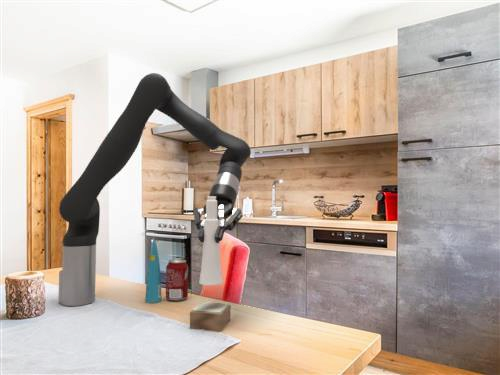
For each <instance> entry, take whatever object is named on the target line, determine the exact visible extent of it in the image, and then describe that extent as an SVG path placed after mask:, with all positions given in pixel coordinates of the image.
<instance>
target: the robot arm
mask: <svg viewBox="0 0 500 375" xmlns="http://www.w3.org/2000/svg"><path fill="white" fill-rule="evenodd" d="M155 110H157V111H159V112H160V113H162V114H164V115H166V116H167V117H169V118H170V119H172V120H173V121H175V122H176V123H177V124H179V125H180V126H181V127H182V128H183V129H185V130H186V131H187V132H188V133H189V134H190V135H192V137H194V138H195V140H197V141H199V142H200V143H202V145H204V146H205V147H206V148H208V149H209V150H211V151H215V150H217V149H218V148H219V147H223V148H225V151H224V152H223V153H222V155H221V158H220V160H219V166H218V168H219V169H218V171H217V174H216V177H215V178H214V181H213V182H212V186H211V187H210V188H211V189H210V192H209V194H208V196H216V200H217V219H218V220H219V227H218V228H217V231H216V234H215V241H216V243H219V242H220V243H221V241H222V240H223V238H224V234H225V232H226V231H229V232H230V231H233V229H234V228H235V227H236V226H237V224H238V223H239V222H240V221H241V219H242V218H243V211H242V209H241V208H239V207H238V208H235V205H236V200H237V197H238V196H239V190H240V184H241V183H240V182H241V179H242V175H243V172H242V171H243V170H242V166H243V165H244V164H245V162H246V161H247V160H248V158H249V157H250V155H251V154H252V153H251V152H252V151H251V148H250V145H249V144H248V143H247V142H246V141H245V140H244V139H242V138H239V137H237V136H235V135H232V134H231V133H229V132H226V131H224V130H223V129H221V128H220V127H218V126H217V125H216V124H215V123H214V122H212V121H211V120H210V119H208V118H207V117H206V116H204V115H202V114H200V113H199V112H197V111H196V110H194V109H193V108H191V107H190V106H188V105H187V104H186V103H184V102H183V101H182V100H181V99H180V97H178V96H177V94H176V93H175V92H174V91H173V90H172V88H171V86H170V84H169V83H168V80H167V79H166V78H165V77H164V76H163V75H162V74H160V73H155V72H152V73H151V72H150V73H148V74H146V75H144V76H143V78H141V79H140V81H139V82H138V84H137V86H136V88H135V90H134V92H133V94H132V96H131V97H130V100H129V102H128V103H127V105H126V107H125V109H124V110H123V112H121V114H120V115H119V117H118V119H117V120H116V121H115V123H114V124H113V126H112V128H111V129H110V130H109V132H108V133H106V134H107V135H106V136H105V137H104V138H103V140H102V142H101V143H100V145H99V146H98V148H97V150H96V151H95V153H94V154H93V156H92V158H91V159H90V161H89V162H88V164H87V166H86V167H85V168H84V170H83V173H82V174H81V175H80V176H79V178H78V179H77V180H76V182H74V184H73V185H72V186H71V187H70V189H68V191H67V192H66V193H65V194H64V196H63V197H62V199H61V200H60V203H59V208H58V209H59V210H58V211H59V215H60V217H61V219H62V220H64V221H66V222H67V223H68V228H67V231H66V233H65V234H64V235H63V237H62V260H61V262H62V263H61V264H62V265H61V266H62V267H61V270H59V272H58V301H57V302H58V304H61V305H63V306H67V307H77V306H84V305H89V304H91V303H94V302H95V301H96V272H97V271H96V270H97V268H96V266H97V263H96V262H97V237H98V236H99V232H100V216H101V213H100V212H101V208H100V202H99V200H98V197H99V195H100V194H101V192H102V190H103V189H104V188H105V186H106V185H107V184H108V183H110V181H112V179H114V178H115V176H117V175H118V174H119V173H120V172H121V171H122V169H124V167H125V166H126V165H127V163H128V162H129V161H130V159H131V157H132V156H133V155H134V153H135V152H136V150H137V148H138V145H139V143H140V141H141V138H142V136H143V132H144V130H145V126H146V124H147V123H148V121H149V119H150V118H151V116H152V115H153V114H154V112H155ZM198 208H199V207H194V208H193V209H192V210H193V217H194V224H195V226H196V228H197V230H199V231H198V232H197V233H198V234H197V238H198V240H199V242H200V243H203V242H204V220H205V219H206V204H205V205H204V206H203V208H199V209H198ZM204 214H205V215H204ZM203 215H204V216H203ZM202 217H203V219H202ZM228 218H229V219H228ZM201 219H202V220H201Z"/></svg>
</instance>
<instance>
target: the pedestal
mask: <svg viewBox="0 0 500 375" xmlns="http://www.w3.org/2000/svg"><path fill="white" fill-rule="evenodd" d="M231 310H232V308H231V304H229V303H222V302H207V301H201V302H200V303H199V304H198V305H197V306H195V307H194V308H193V309H192V310H190V311H189V329H190V330H191V329H193V330H201V329H204V330H203V331H212V332H213V331H214V332H222V331H223V330H224V329H225V327H226V326H227V325H228V324H229V323H230V322H231Z"/></svg>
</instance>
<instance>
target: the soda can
mask: <svg viewBox="0 0 500 375" xmlns="http://www.w3.org/2000/svg"><path fill="white" fill-rule="evenodd" d="M167 262H168V263H167V265H166V268H165V271H166V272H165V299H167V300H168V301H171V302H182V301H184V300H186V299H187V298H188V296H189V293H188V292H189V289H188V288H189V287H188V286H189V266H188V263H187V260H186V259H183V258H181V259H180V258H175V259H169V260H168V261H167Z"/></svg>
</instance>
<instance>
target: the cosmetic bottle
mask: <svg viewBox="0 0 500 375" xmlns="http://www.w3.org/2000/svg"><path fill="white" fill-rule="evenodd" d="M205 202H206V204H205V205H206V219H205V220H204V242H202V254H201V256H202V258H201V267H200V268H201V269H200V274H199V275H200V276H199V281H198V282H199V284H200V285H202V286H207V287H211V286H212V287H213V286H214V287H215V286H219V285H220V286H221V285H222V284H223V283H224V281H223V273H222V264H221V245H220V243H221V241H220V242H219V243H216V241H215V234H216V231H217V228H218V227H219V220H218V219H217V200H216V196H209V195H208V196H207V200H206V201H205Z"/></svg>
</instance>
